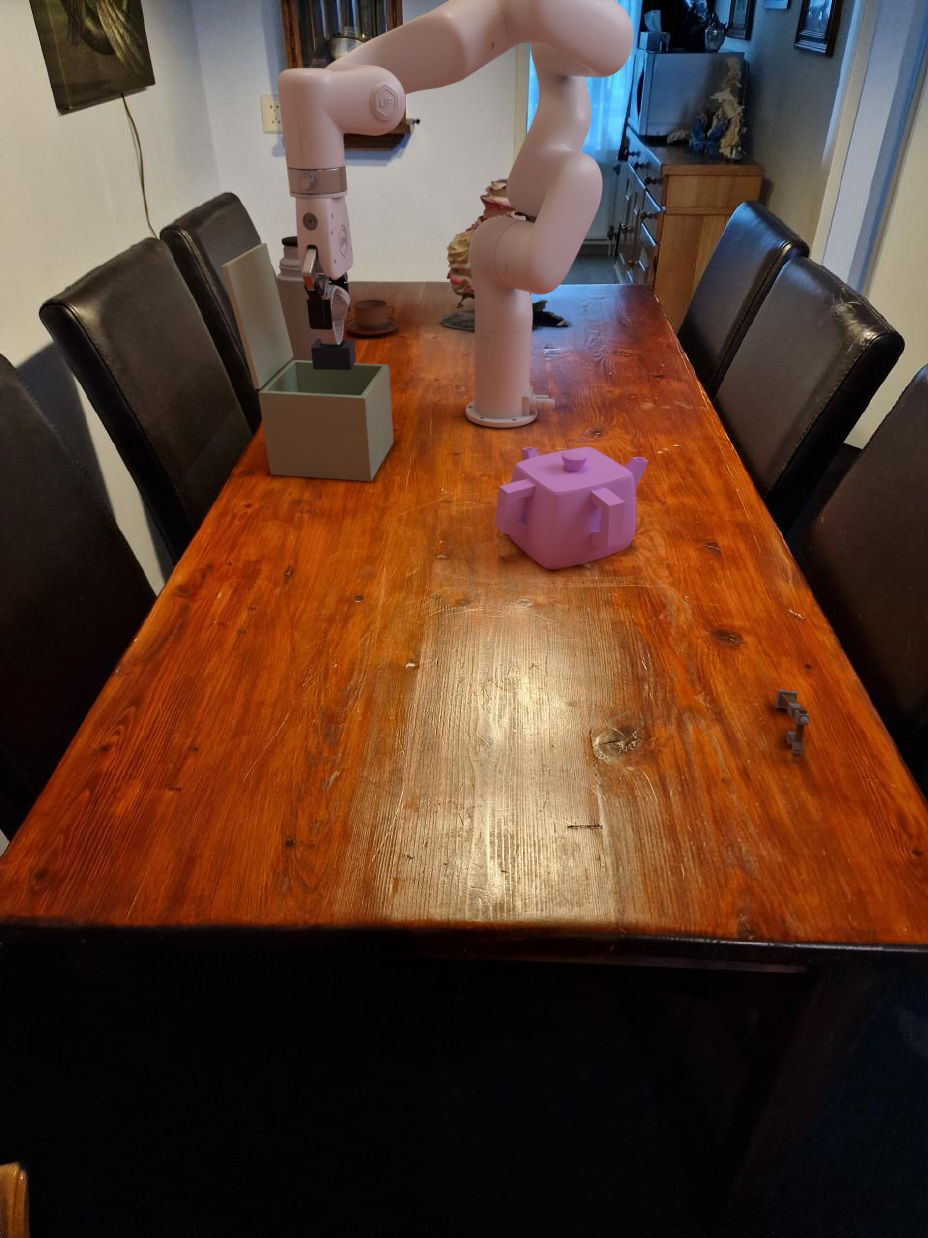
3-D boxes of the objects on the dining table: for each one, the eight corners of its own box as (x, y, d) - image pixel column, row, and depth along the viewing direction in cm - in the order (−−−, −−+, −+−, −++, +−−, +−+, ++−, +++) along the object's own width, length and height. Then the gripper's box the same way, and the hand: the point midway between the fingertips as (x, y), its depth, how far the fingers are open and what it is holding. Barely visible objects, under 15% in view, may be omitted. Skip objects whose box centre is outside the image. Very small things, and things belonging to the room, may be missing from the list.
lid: (266, 242, 119) (261, 243, 119) (227, 265, 107) (221, 265, 107) (293, 356, 128) (288, 356, 129) (260, 388, 116) (254, 389, 117)
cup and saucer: (369, 321, 192) (368, 294, 189) (409, 329, 187) (408, 301, 183) (334, 333, 184) (332, 305, 181) (374, 342, 179) (373, 313, 175)
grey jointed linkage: (787, 759, 73) (795, 711, 73) (771, 731, 81) (778, 687, 80) (809, 762, 73) (817, 714, 72) (790, 733, 81) (797, 689, 80)
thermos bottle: (343, 398, 151) (328, 233, 135) (329, 414, 144) (311, 243, 128) (302, 395, 152) (283, 231, 136) (286, 411, 146) (264, 241, 129)
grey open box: (393, 442, 134) (389, 364, 127) (371, 481, 122) (365, 397, 115) (301, 436, 136) (291, 359, 129) (270, 474, 124) (257, 392, 117)
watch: (358, 356, 123) (352, 279, 117) (348, 373, 117) (342, 293, 110) (321, 355, 123) (313, 278, 117) (310, 373, 117) (301, 292, 110)
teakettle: (489, 563, 103) (491, 473, 96) (520, 503, 116) (523, 420, 109) (624, 583, 99) (636, 491, 92) (640, 519, 112) (652, 434, 105)
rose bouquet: (492, 300, 207) (494, 166, 190) (579, 324, 190) (590, 178, 173) (414, 319, 193) (409, 177, 176) (501, 347, 176) (505, 191, 158)
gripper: (326, 192, 99) (339, 339, 109) (362, 173, 113) (371, 304, 123) (267, 191, 100) (285, 336, 110) (310, 173, 114) (323, 303, 124)
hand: (330, 319), depth 116 cm, fingers closed on watch, 8 cm apart
